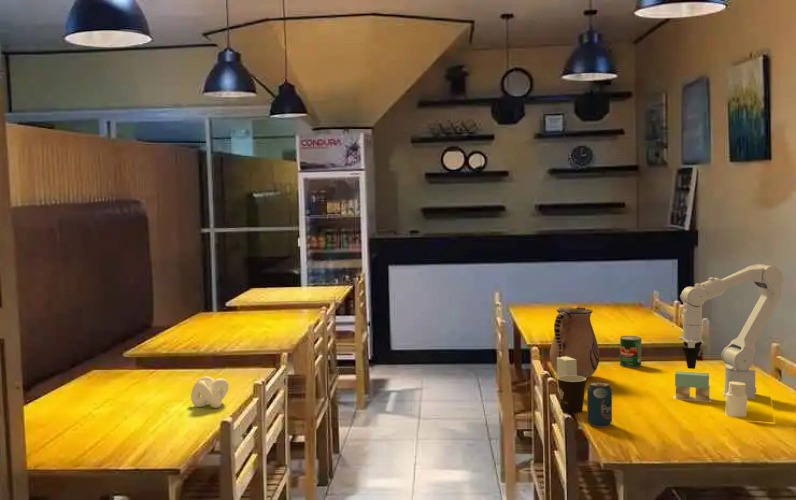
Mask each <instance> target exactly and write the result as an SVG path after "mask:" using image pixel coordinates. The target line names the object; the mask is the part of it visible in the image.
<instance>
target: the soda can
mask: <svg viewBox="0 0 796 500" xmlns="http://www.w3.org/2000/svg"><path fill="white" fill-rule="evenodd" d="M586 391H587V392H586V393H587V394H586V395H587V396H586V397H587V398H586V405H587V406H586V409H587V410H586V414H587V415H586V421H587V422H588V424H589V425H590V426H591V427H594V428H595V427H596V428H607V427H609V426H610V425H611V424H612V421H613V389H612V387H611V383H609V382H606V381H599V380H598V381H596V380H595V381H590V382H589V385H588V387H587V388H586Z"/></svg>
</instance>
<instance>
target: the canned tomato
mask: <svg viewBox="0 0 796 500" xmlns="http://www.w3.org/2000/svg"><path fill="white" fill-rule="evenodd" d="M619 340H620V341H619V367H621V366H622V368H625V367H627V369H637V368H641V367H642V337H641V336H639V335H638V336H637V335H622V336H620V337H619Z"/></svg>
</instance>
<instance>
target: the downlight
mask: <svg viewBox="0 0 796 500" xmlns="http://www.w3.org/2000/svg"><path fill="white" fill-rule="evenodd" d="M745 385H746V384H745V383H742V382H729V390H728V391H729V392H728V393H726V397H725V410H724V411H725V412H724V415H725V416H727V417H732V418H733V417H735V418H744V417H746V416H747V409H748V408H747V407H748V406H747V405H748V398H747V395H746V394H745Z"/></svg>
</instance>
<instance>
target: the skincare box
mask: <svg viewBox="0 0 796 500" xmlns="http://www.w3.org/2000/svg"><path fill="white" fill-rule="evenodd" d="M556 374H557V382H558V377H559V376H565V375H575V376H577V363H576V359H573V358H570V357H567V356H565V357H557V373H556ZM557 393H558V394H559V386H558V385H557Z"/></svg>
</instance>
